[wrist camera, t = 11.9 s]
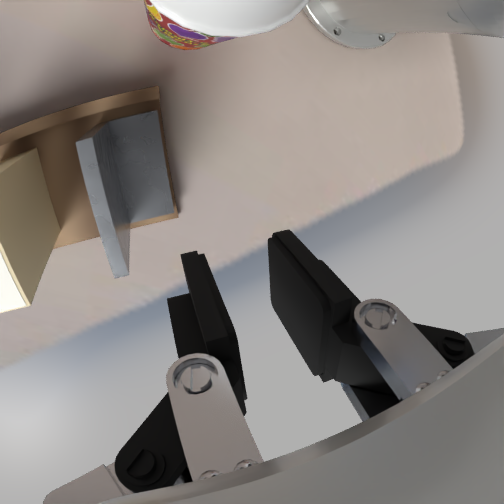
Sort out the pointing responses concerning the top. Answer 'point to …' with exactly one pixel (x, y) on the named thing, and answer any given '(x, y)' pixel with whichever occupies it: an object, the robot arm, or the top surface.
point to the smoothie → (216, 19)
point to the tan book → (24, 229)
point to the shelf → (67, 160)
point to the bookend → (124, 180)
